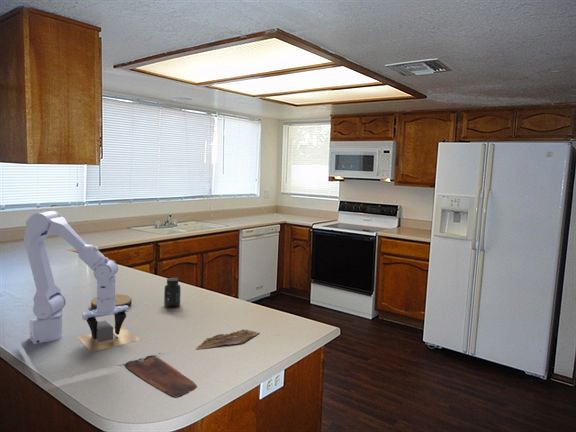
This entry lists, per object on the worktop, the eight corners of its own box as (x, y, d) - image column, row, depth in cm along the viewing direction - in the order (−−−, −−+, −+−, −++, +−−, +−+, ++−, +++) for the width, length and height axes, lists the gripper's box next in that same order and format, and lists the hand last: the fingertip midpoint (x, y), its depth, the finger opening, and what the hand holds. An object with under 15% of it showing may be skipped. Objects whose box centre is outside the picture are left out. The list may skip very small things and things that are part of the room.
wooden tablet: (202, 383, 117) (171, 392, 110) (201, 391, 117) (170, 400, 110) (153, 353, 135) (123, 359, 127) (152, 360, 135) (122, 366, 127)
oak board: (90, 356, 132) (90, 351, 132) (76, 340, 143) (76, 336, 143) (140, 344, 143) (140, 339, 143) (123, 330, 154) (123, 326, 154)
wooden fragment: (251, 328, 162) (251, 326, 162) (266, 339, 153) (266, 336, 153) (188, 343, 146) (188, 340, 146) (201, 355, 138) (201, 352, 138)
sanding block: (99, 345, 137) (99, 330, 137) (91, 337, 143) (91, 323, 142) (113, 342, 140) (113, 327, 140) (105, 334, 146) (105, 320, 145)
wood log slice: (106, 299, 189) (106, 292, 189) (138, 303, 186) (138, 296, 186) (82, 310, 174) (82, 303, 173) (117, 314, 170) (117, 307, 170)
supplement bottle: (160, 306, 182) (161, 279, 181) (171, 302, 188) (172, 276, 187) (172, 309, 179) (173, 282, 177) (183, 305, 185) (184, 278, 184)
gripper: (86, 304, 133) (87, 345, 134) (132, 296, 143) (131, 334, 144) (80, 298, 138) (80, 337, 140) (124, 291, 148) (124, 328, 149)
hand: (106, 336), depth 142 cm, fingers open, 7 cm apart
